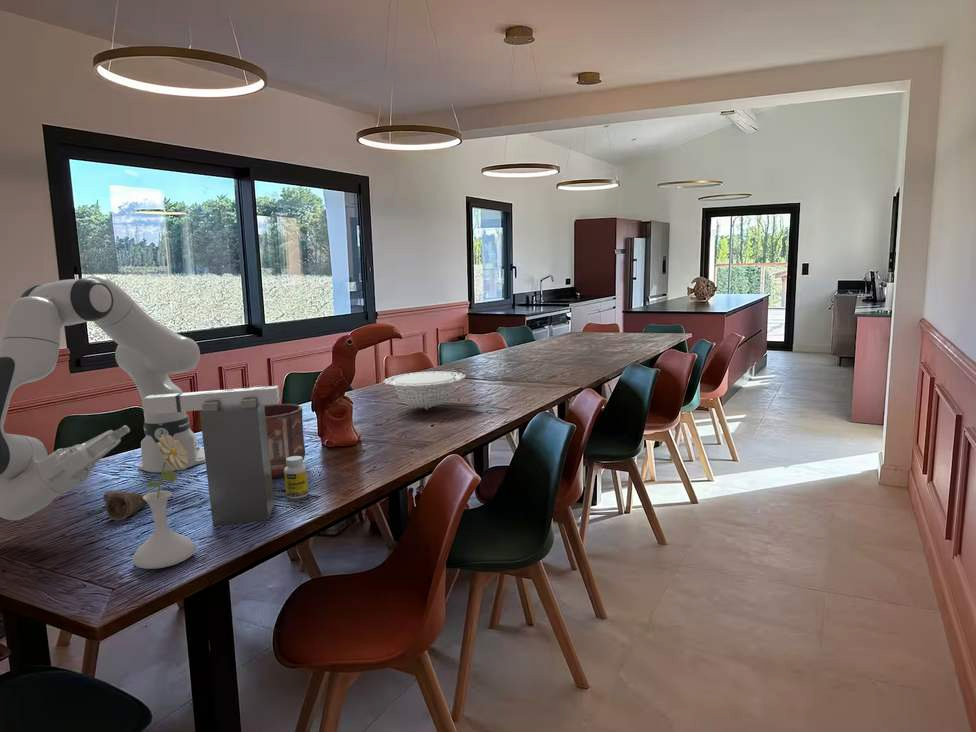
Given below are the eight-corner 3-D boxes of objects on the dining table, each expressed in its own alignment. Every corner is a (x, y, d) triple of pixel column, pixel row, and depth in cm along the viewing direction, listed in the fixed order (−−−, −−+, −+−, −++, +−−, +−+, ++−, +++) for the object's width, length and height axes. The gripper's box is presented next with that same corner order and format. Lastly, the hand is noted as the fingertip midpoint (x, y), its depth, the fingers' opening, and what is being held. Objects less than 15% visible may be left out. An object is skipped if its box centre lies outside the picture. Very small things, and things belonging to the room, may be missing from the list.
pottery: (243, 468, 191) (237, 407, 188) (306, 460, 196) (300, 401, 193) (240, 486, 174) (233, 420, 172) (309, 477, 180) (303, 413, 177)
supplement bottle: (286, 500, 162) (282, 462, 161) (286, 493, 167) (282, 456, 166) (309, 497, 164) (305, 459, 162) (308, 490, 169) (305, 453, 167)
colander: (368, 413, 256) (366, 381, 254) (426, 398, 279) (424, 368, 277) (426, 423, 235) (424, 388, 233) (484, 406, 259) (482, 374, 257)
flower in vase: (163, 578, 123) (146, 448, 119) (119, 570, 127) (101, 445, 124) (215, 549, 135) (201, 430, 131) (173, 543, 139) (159, 428, 136)
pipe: (117, 481, 169) (77, 487, 160) (159, 488, 161) (119, 495, 152) (116, 506, 169) (76, 514, 160) (158, 515, 161) (119, 523, 152)
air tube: (150, 411, 148) (148, 395, 148) (279, 400, 153) (278, 385, 153) (145, 414, 145) (143, 398, 144) (277, 404, 150) (276, 388, 149)
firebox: (220, 510, 157) (207, 396, 153) (274, 504, 160) (262, 392, 155) (211, 526, 148) (197, 405, 143) (268, 520, 150) (256, 400, 146)
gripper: (32, 472, 134) (92, 433, 135) (75, 445, 154) (126, 412, 155) (53, 495, 136) (112, 457, 137) (93, 466, 155) (143, 433, 157)
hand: (120, 433), depth 146 cm, fingers open, 8 cm apart
